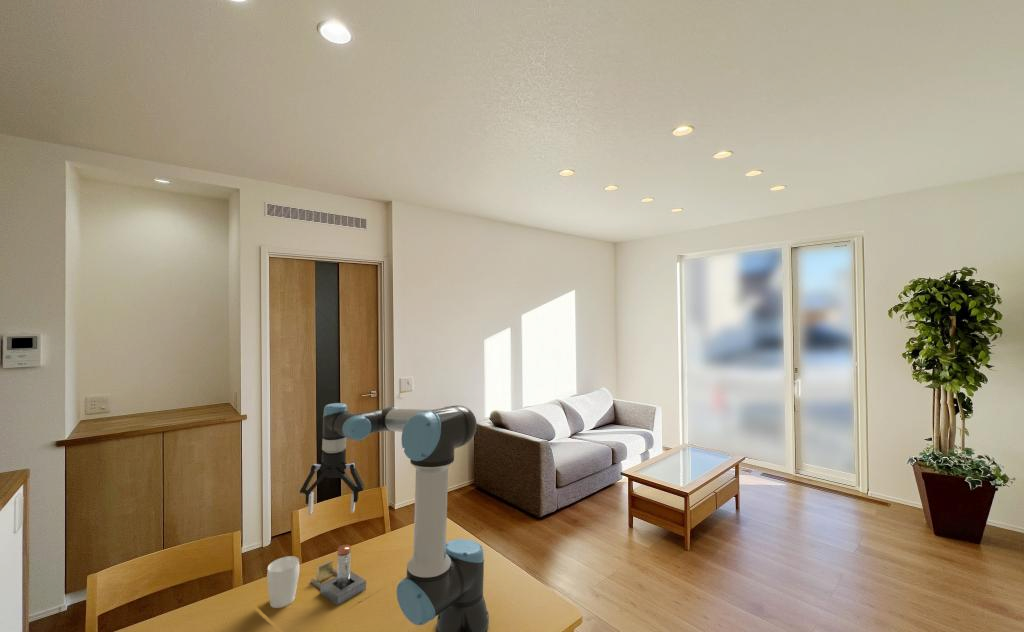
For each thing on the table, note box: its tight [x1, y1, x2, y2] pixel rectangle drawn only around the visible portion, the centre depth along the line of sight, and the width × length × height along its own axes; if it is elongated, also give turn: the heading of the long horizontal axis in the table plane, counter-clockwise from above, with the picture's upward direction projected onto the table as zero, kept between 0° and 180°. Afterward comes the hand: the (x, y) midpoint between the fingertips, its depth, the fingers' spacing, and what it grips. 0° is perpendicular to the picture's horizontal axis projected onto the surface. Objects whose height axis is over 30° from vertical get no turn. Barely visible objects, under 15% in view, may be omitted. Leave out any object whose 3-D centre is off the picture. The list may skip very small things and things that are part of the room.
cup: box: [266, 555, 301, 609], centre depth 128 cm, size 9×9×12 cm
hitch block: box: [310, 568, 367, 606], centre depth 136 cm, size 18×14×3 cm
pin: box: [336, 544, 352, 590], centre depth 133 cm, size 4×4×14 cm
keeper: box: [315, 559, 334, 583], centre depth 140 cm, size 2×5×5 cm, turn 144°
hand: (331, 512), depth 138 cm, fingers open, 13 cm apart
